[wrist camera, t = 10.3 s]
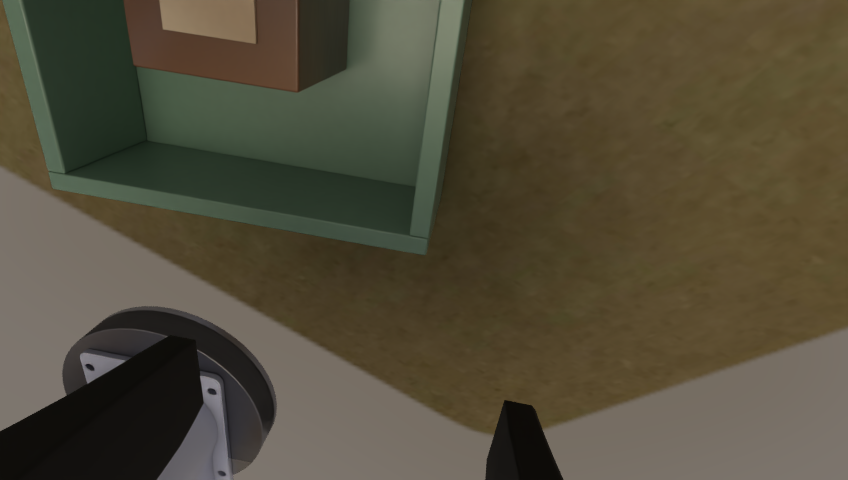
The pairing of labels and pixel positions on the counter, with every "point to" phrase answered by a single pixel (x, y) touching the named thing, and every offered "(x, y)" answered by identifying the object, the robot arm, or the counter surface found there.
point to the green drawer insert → (253, 123)
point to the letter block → (241, 39)
